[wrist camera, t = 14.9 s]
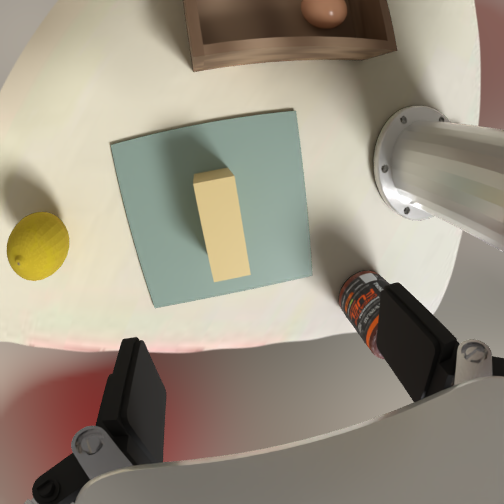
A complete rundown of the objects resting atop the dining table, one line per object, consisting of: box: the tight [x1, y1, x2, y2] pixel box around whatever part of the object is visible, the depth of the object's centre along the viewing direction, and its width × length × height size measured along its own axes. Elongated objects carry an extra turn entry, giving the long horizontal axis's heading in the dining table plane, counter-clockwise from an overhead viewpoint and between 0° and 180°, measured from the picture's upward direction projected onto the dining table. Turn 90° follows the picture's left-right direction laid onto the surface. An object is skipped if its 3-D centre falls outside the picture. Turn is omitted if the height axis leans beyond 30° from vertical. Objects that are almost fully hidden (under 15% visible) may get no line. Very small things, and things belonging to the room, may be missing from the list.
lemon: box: [7, 212, 69, 281], centre depth 23 cm, size 6×6×8 cm
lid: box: [111, 111, 312, 308], centre depth 27 cm, size 16×16×6 cm
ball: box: [301, 0, 347, 29], centre depth 20 cm, size 4×4×4 cm
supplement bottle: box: [339, 271, 390, 359], centre depth 30 cm, size 6×6×11 cm
